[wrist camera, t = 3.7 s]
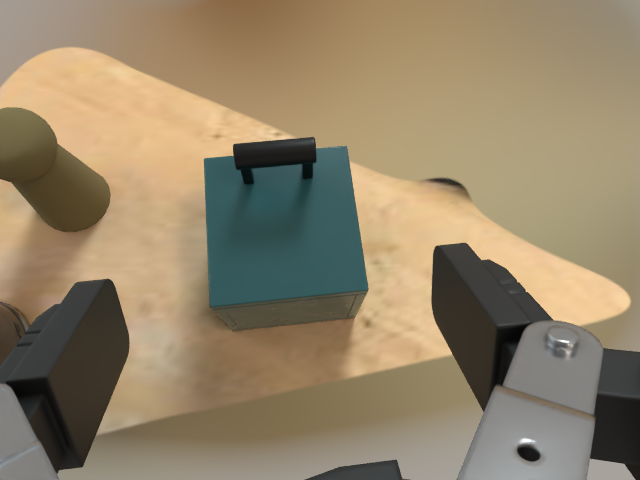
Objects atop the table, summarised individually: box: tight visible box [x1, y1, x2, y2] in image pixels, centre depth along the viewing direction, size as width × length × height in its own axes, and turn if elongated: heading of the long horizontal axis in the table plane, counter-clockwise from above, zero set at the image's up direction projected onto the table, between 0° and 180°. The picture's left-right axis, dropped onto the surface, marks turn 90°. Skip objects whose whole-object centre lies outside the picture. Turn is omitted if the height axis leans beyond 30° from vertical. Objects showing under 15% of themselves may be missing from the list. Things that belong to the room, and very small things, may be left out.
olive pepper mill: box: [0, 108, 110, 232], centre depth 37 cm, size 6×6×11 cm
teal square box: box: [212, 293, 367, 331], centre depth 37 cm, size 10×10×9 cm
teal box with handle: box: [204, 137, 368, 309], centre depth 31 cm, size 10×10×5 cm
